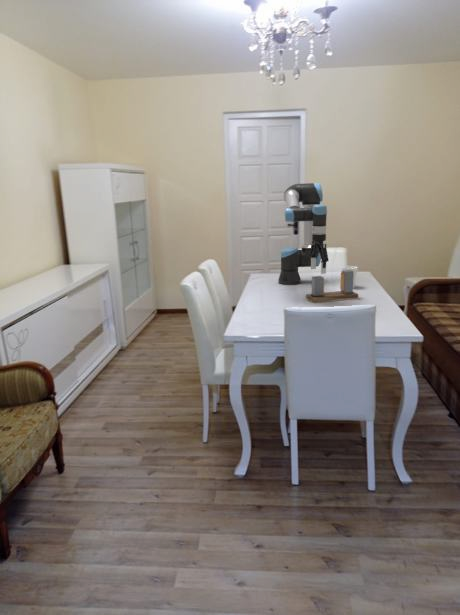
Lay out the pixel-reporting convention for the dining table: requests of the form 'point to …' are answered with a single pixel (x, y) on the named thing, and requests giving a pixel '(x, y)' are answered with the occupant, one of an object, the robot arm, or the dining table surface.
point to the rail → (332, 297)
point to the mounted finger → (347, 282)
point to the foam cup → (352, 268)
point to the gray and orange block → (317, 286)
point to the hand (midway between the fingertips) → (318, 271)
